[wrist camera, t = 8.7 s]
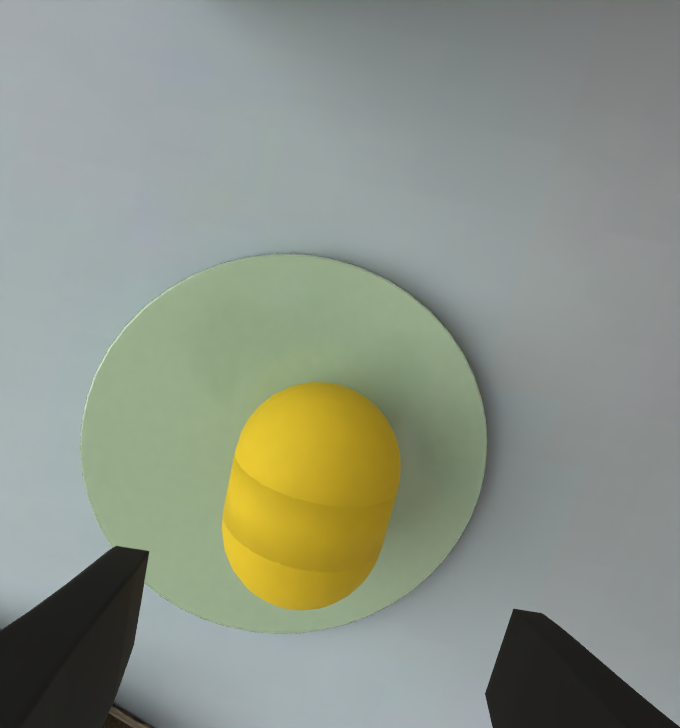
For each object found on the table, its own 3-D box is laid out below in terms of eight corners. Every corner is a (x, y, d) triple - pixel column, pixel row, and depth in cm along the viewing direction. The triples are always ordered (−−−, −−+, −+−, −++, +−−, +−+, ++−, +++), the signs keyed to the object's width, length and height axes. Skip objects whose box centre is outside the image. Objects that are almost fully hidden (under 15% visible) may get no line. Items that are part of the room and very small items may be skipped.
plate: (425, 642, 21) (430, 658, 20) (66, 589, 19) (56, 604, 18) (528, 303, 18) (538, 306, 17) (118, 208, 16) (109, 208, 16)
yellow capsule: (332, 546, 19) (390, 643, 15) (198, 547, 17) (222, 658, 13) (376, 371, 18) (452, 426, 14) (236, 352, 16) (275, 409, 12)
